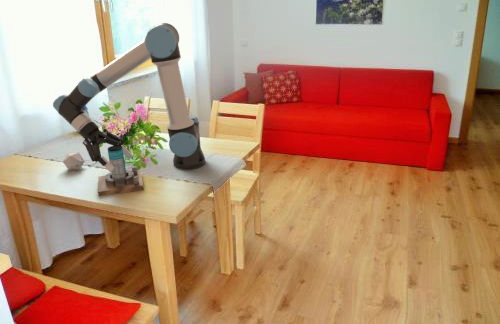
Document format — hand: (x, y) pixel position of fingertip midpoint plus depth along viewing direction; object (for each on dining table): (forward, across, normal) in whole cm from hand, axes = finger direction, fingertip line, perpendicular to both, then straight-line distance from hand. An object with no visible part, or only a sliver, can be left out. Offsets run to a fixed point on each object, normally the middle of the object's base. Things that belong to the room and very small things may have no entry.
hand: (122, 163), depth 173 cm
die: (-16, -10, -31) cm, 36 cm away
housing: (+5, 0, -9) cm, 10 cm away
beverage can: (+4, 0, -8) cm, 9 cm away
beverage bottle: (-40, -60, -55) cm, 90 cm away
